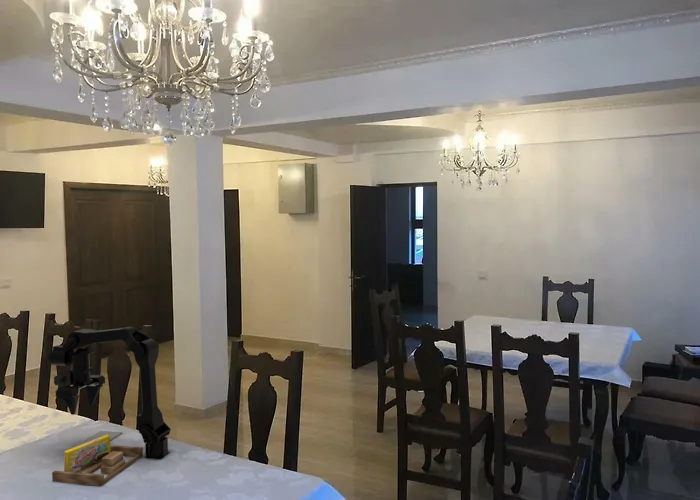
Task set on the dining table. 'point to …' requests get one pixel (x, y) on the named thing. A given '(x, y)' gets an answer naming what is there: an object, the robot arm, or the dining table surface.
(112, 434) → the pad
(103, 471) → the offcut lower
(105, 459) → the offcut upper
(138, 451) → the rack
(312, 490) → the dining table surface
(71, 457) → the candy box
